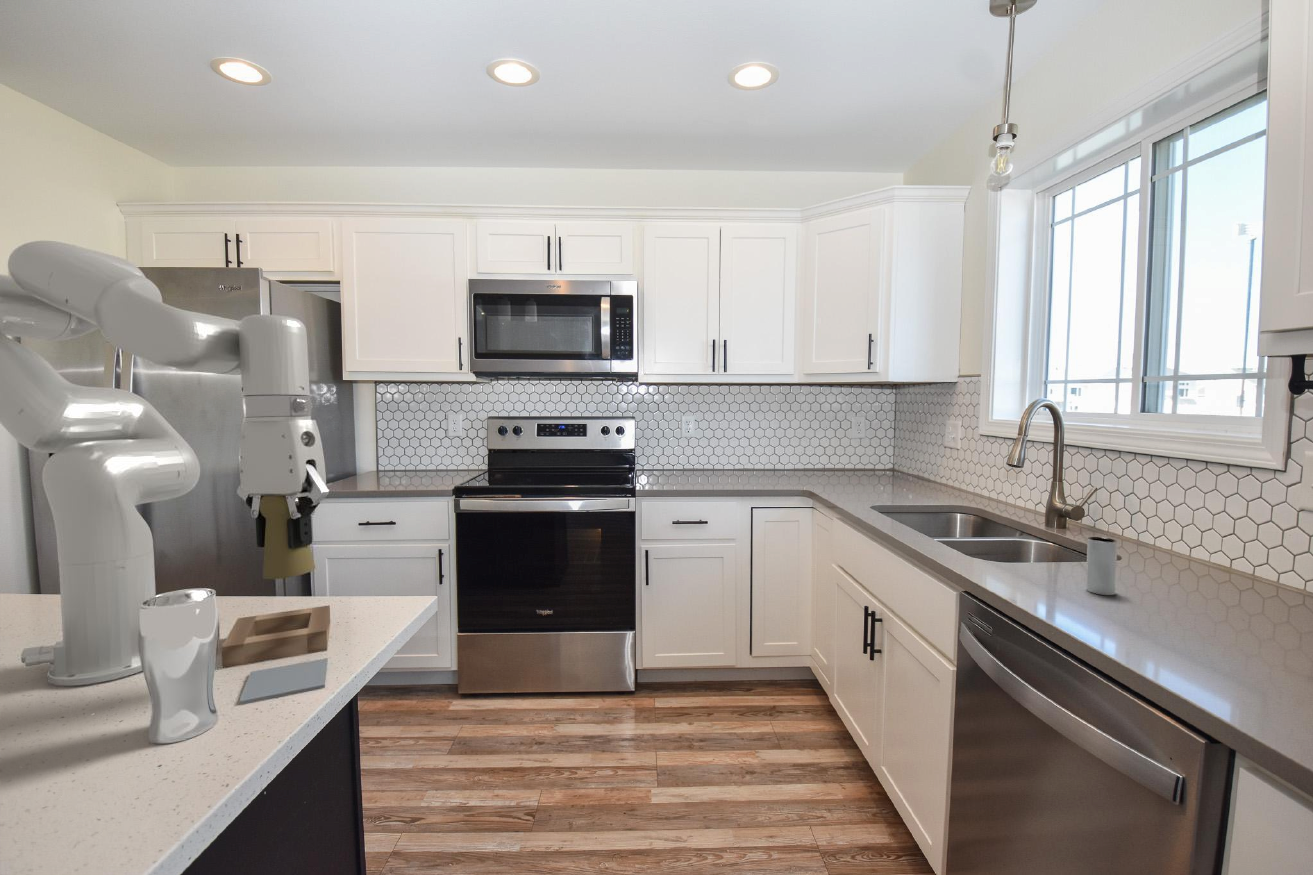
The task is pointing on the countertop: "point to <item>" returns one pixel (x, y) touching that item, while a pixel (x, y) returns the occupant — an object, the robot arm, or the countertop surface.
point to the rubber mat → (284, 681)
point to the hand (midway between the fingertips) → (284, 544)
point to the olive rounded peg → (282, 542)
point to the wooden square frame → (277, 636)
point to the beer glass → (179, 662)
